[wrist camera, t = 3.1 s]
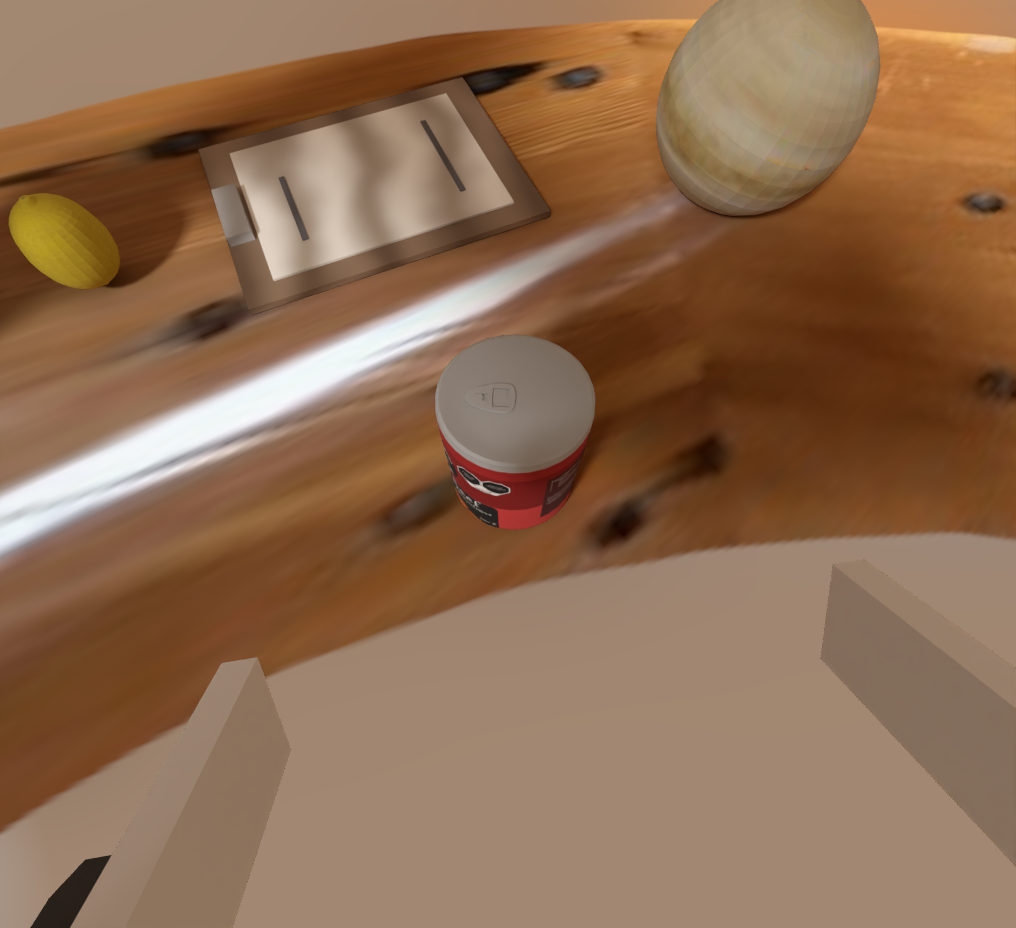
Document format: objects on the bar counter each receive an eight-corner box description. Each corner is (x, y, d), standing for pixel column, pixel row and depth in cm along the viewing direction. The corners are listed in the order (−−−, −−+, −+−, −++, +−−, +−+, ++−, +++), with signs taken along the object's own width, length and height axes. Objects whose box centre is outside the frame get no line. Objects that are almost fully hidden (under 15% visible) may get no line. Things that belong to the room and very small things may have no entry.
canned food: (444, 442, 37) (420, 349, 27) (554, 418, 38) (571, 319, 27) (467, 546, 34) (450, 485, 24) (585, 518, 35) (617, 447, 25)
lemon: (138, 249, 44) (64, 160, 36) (145, 298, 42) (68, 214, 34) (68, 268, 43) (-22, 181, 36) (72, 318, 41) (-23, 237, 34)
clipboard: (252, 314, 41) (243, 301, 40) (201, 155, 48) (192, 139, 47) (549, 216, 45) (551, 201, 44) (462, 83, 53) (461, 67, 51)
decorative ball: (667, 118, 51) (727, -95, 37) (823, 164, 48) (951, -47, 34) (612, 222, 45) (659, 17, 31) (785, 280, 43) (918, 84, 29)
